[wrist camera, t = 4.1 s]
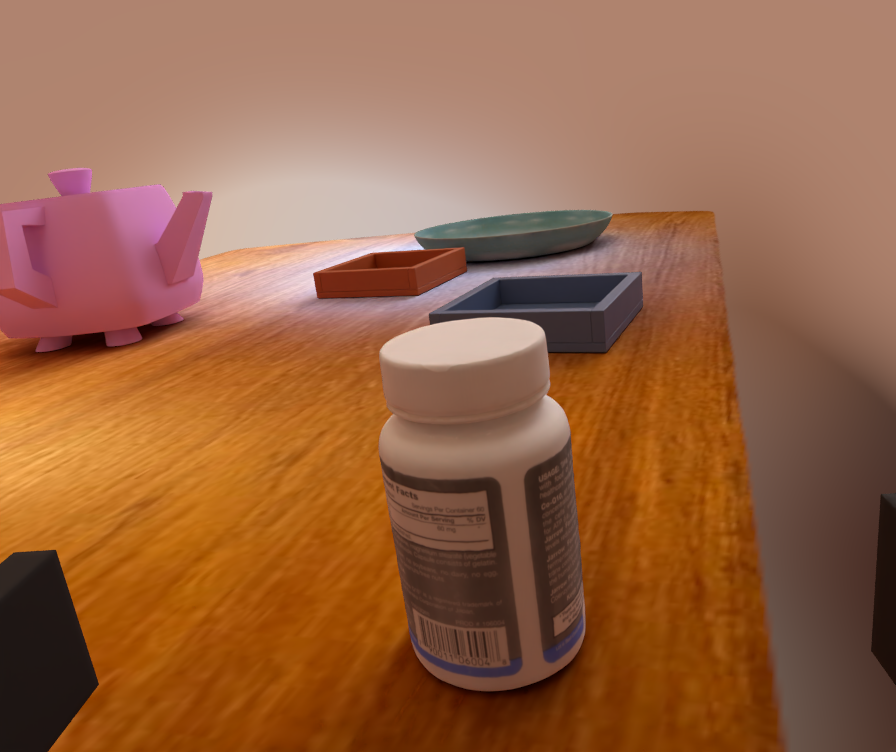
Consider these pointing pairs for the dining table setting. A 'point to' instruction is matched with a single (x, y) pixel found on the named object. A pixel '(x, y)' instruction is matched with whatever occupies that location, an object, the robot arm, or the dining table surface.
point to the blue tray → (557, 307)
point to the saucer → (517, 234)
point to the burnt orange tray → (391, 273)
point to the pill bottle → (482, 502)
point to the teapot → (98, 261)
